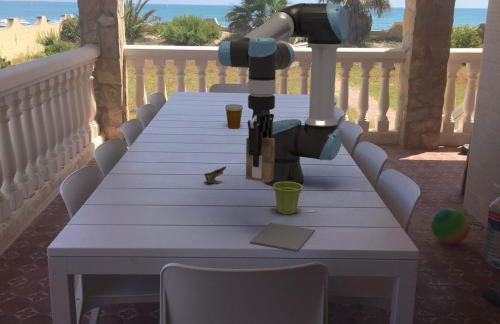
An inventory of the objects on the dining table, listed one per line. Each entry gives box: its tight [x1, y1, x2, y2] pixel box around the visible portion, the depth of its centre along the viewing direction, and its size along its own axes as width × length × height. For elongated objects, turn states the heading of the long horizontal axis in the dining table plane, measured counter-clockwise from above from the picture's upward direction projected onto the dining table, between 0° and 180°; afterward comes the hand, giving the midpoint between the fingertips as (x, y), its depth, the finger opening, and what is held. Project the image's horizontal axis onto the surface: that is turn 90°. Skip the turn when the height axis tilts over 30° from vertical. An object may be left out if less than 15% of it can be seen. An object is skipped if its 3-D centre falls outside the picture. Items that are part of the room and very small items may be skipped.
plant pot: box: [272, 182, 303, 215], centre depth 189 cm, size 9×9×9 cm
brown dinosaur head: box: [203, 166, 227, 184], centre depth 218 cm, size 8×6×7 cm
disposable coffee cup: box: [224, 103, 244, 130], centre depth 316 cm, size 10×10×12 cm
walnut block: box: [245, 137, 275, 183], centre depth 169 cm, size 4×7×12 cm, turn 66°
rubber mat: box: [249, 222, 316, 252], centre depth 169 cm, size 16×14×1 cm
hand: (260, 175), depth 170 cm, fingers closed on walnut block, 4 cm apart
